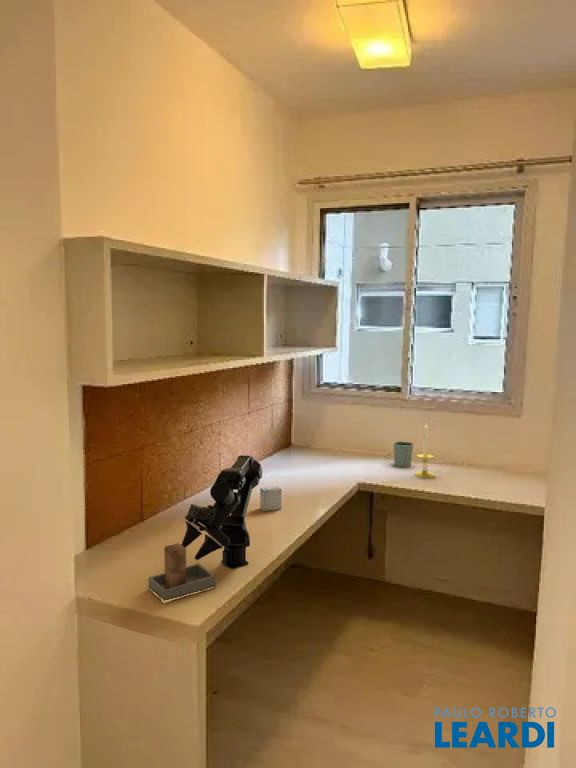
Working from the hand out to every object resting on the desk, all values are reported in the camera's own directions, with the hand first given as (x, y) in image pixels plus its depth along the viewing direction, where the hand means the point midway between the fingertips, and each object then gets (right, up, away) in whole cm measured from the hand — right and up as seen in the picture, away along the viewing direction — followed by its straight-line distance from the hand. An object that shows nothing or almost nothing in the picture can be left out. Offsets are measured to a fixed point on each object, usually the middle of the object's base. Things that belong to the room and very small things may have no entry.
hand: (188, 553), depth 163 cm
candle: (+97, +3, +120) cm, 155 cm away
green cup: (+90, +5, +138) cm, 165 cm away
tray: (-2, -10, 0) cm, 10 cm away
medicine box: (+22, -2, +68) cm, 72 cm away
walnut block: (-3, -9, -2) cm, 10 cm away
